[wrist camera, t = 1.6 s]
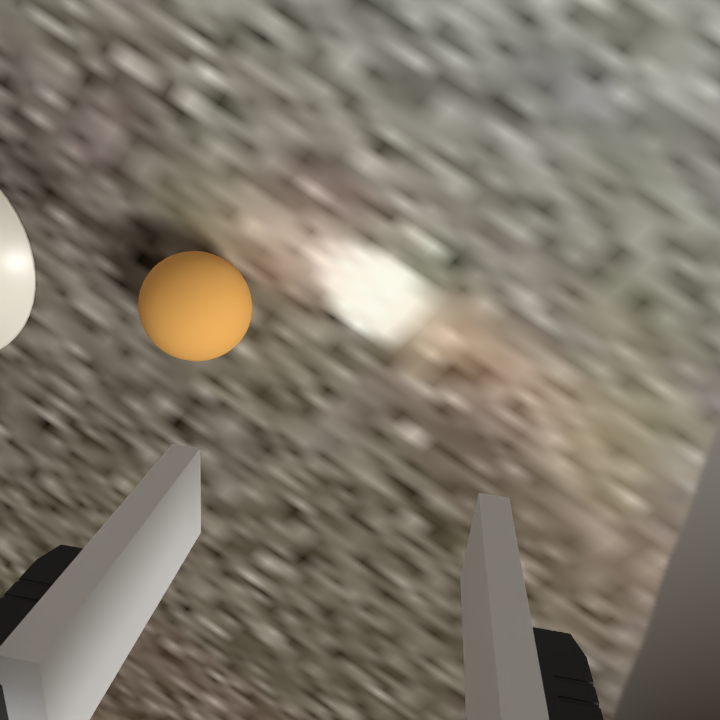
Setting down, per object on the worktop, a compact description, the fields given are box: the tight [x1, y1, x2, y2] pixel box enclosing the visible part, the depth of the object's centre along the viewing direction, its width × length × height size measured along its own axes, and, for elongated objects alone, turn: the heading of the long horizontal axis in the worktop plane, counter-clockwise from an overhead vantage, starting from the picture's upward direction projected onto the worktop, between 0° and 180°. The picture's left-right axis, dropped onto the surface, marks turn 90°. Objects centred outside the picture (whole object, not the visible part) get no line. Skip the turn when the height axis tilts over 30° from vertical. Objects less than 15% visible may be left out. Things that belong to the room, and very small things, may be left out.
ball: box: [138, 251, 252, 361], centre depth 29 cm, size 6×6×6 cm
